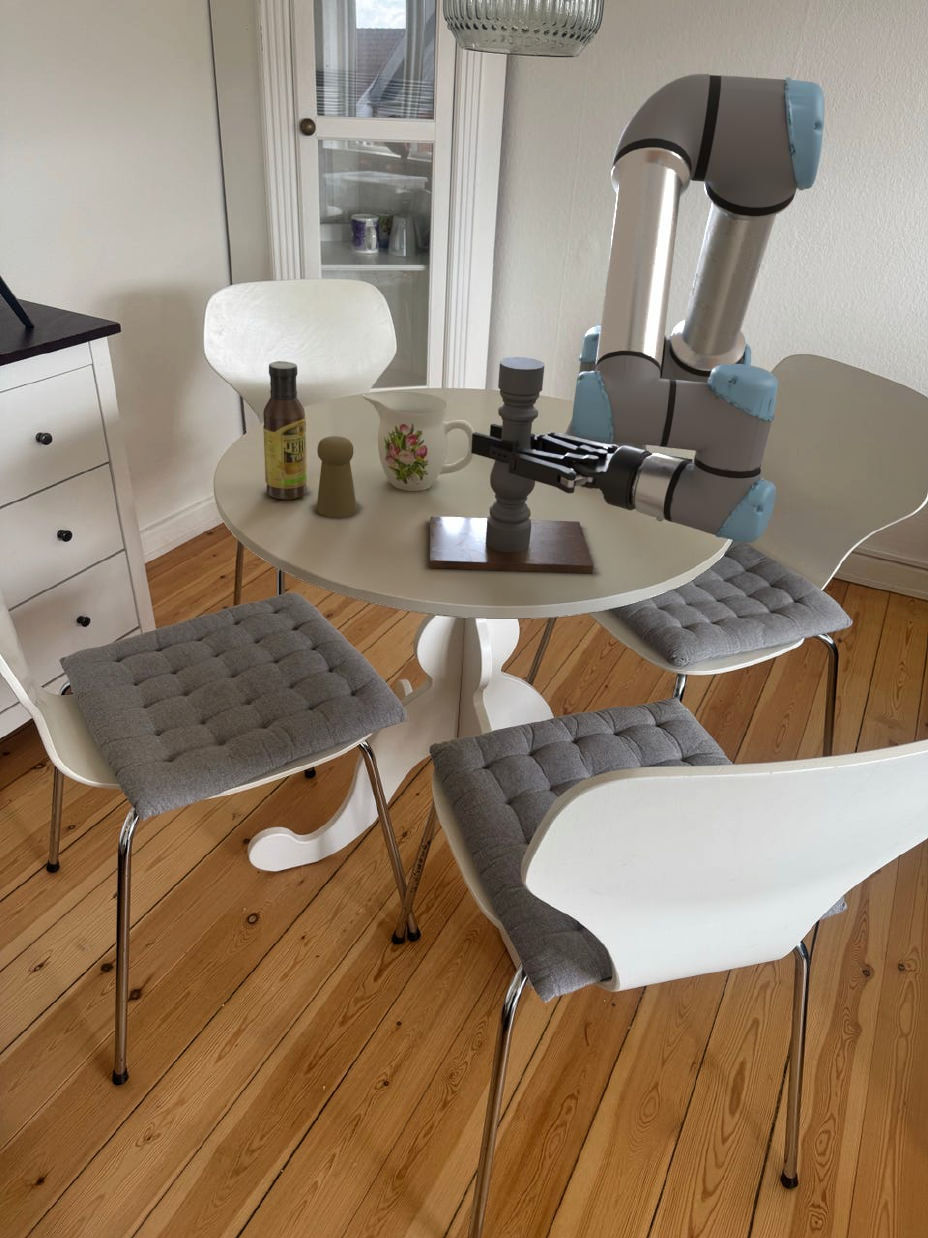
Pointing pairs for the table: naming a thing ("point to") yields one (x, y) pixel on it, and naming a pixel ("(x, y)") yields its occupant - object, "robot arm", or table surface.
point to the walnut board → (547, 552)
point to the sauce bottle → (284, 435)
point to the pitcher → (415, 438)
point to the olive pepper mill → (336, 478)
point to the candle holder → (518, 413)
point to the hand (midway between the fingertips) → (482, 438)
